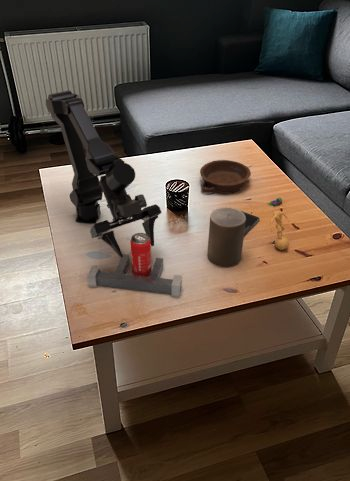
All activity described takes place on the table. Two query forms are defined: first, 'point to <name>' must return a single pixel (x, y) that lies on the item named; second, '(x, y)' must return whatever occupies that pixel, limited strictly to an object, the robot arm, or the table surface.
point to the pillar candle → (226, 236)
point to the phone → (250, 222)
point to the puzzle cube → (276, 202)
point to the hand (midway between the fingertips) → (137, 251)
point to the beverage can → (141, 254)
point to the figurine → (279, 231)
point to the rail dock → (135, 279)
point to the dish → (224, 176)
